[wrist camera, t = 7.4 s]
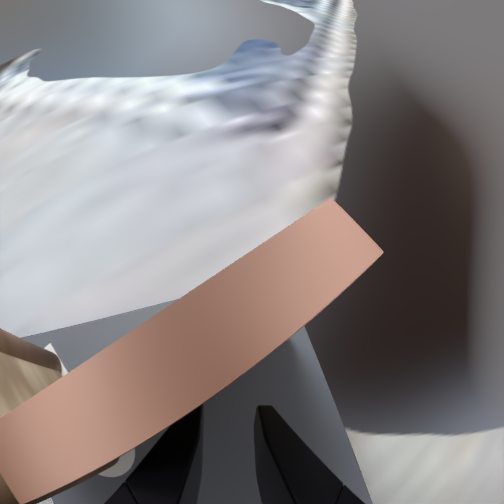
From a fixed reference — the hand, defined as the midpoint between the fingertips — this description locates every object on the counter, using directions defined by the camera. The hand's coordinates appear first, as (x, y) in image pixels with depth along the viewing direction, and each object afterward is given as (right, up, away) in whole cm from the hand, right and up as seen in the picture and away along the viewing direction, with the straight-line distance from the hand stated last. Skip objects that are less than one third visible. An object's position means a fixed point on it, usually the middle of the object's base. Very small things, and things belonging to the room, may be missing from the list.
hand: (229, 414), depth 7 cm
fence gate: (-3, -2, +5) cm, 6 cm away
